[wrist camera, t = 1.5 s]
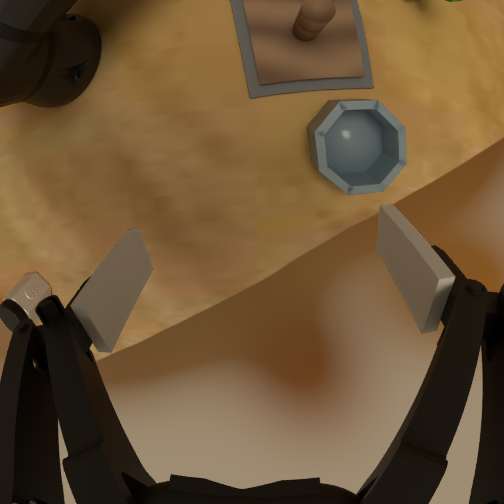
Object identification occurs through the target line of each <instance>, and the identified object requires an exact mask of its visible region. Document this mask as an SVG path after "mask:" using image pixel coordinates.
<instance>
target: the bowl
mask: <svg viewBox="0 0 504 504" xmlns="http://www.w3.org/2000/svg"><path fill="white" fill-rule="evenodd" d="M307 130H308V137H309V145H310V153H311V160H312V162H313V163H314V165H315V166H316V168H317V169H318V171H319V172H320V173H322V174H323V175H324V176H325V177H327V178H328V179H329V180H330V181H332V182H333V183H334V184H335V185H337V186H338V187H339V188H340V189H341V190H343V191H344V192H345V193H346V194H347V195H353V194H363V193H373V192H383V191H384V190H385V189H386V188H387V187H388V185H389V184H390V183H391V182H392V181H393V180H394V178H395V177H396V176H397V175H398V174H399V173H400V171H401V170H402V169H403V168H404V167H405V166H406V134H405V127H404V126H403V125H402V124H401V123H400V122H399V121H398V119H397V118H396V117H395V116H394V115H393V114H392V113H391V112H390V111H389V110H388V109H387V108H386V107H385V106H383V105H382V104H381V103H380V102H379V101H378V100H369V99H346V100H328V101H327V103H326V104H325V105H324V106H323V108H322V109H321V110H320V111H319V112H318V114H317V115H316V116H315V117H314V119H313V120H312V121H311V122H310V123H309V125H308V126H307Z"/></svg>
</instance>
